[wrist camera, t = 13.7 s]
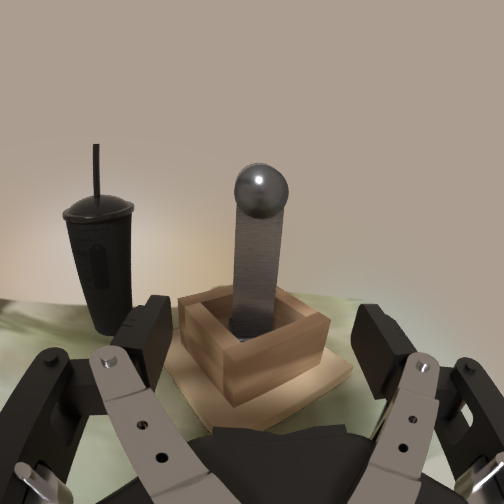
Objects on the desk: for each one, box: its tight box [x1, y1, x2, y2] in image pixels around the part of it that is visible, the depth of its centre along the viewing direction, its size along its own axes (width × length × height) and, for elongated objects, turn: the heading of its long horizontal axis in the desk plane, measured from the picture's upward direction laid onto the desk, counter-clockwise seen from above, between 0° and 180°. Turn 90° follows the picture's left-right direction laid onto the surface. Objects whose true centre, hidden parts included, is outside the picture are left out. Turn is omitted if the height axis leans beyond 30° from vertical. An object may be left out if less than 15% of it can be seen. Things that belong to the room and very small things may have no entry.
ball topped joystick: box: [228, 163, 289, 343], centre depth 23 cm, size 4×3×17 cm
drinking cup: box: [63, 144, 134, 336], centre depth 27 cm, size 8×8×20 cm
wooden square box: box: [164, 285, 353, 435], centre depth 25 cm, size 14×14×6 cm
